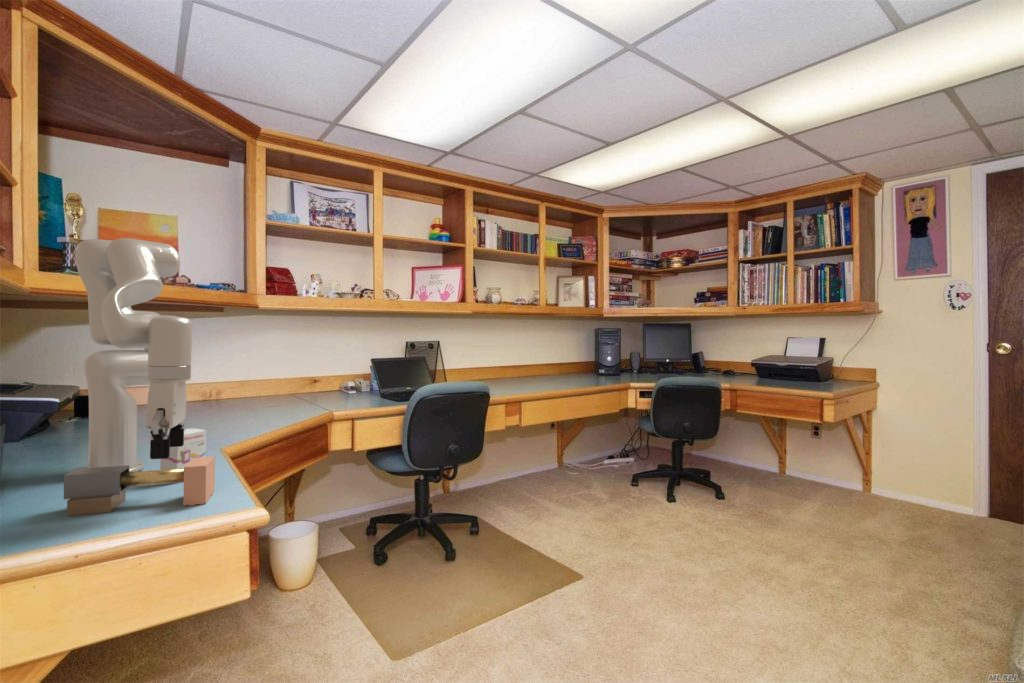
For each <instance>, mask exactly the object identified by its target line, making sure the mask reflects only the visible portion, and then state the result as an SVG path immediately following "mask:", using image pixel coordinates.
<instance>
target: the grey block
mask: <svg viewBox="0 0 1024 683" xmlns="http://www.w3.org/2000/svg"><path fill="white" fill-rule="evenodd" d="M122 472H129V465H125V466H110V467H95V468H87V467H83V468H82V467H81V468H76V469H73V470H71V471H70V472H67V473H66V474H64V475H63V500H67V501H66V517H75V516H83V515H84V516H85V515H95V514H107V513H106V512H108V513H112V512H113V511H115V510H116V509H118V508H119V506H121V505H122V504H124V502H126V501H125V500H126V499H127V498H126V490H128V489H129V488H130V487H121V473H122ZM121 503H122V504H121ZM120 504H121V505H120ZM115 508H116V509H115Z"/></svg>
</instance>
